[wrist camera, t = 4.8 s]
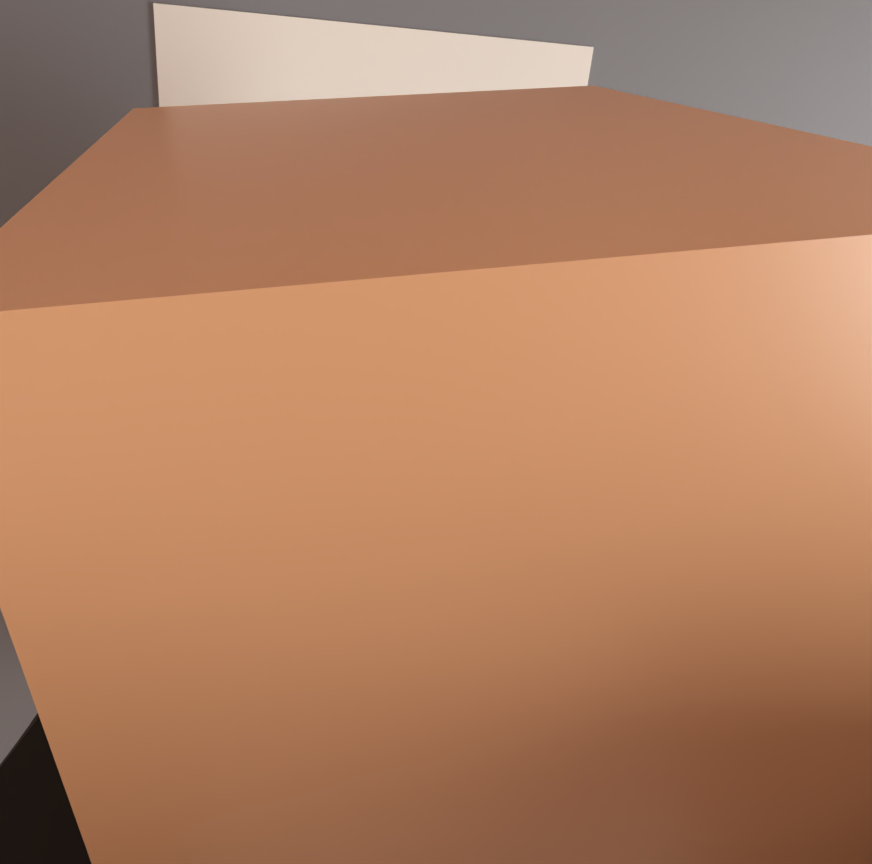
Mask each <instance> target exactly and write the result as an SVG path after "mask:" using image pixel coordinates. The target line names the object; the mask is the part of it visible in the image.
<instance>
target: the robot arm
mask: <svg viewBox="0 0 872 864" xmlns="http://www.w3.org/2000/svg"><path fill="white" fill-rule="evenodd" d="M0 864H92V863H91V860H90V858H89V855H88V852H87V849H86V846H85V844H84V841H83V838H82V835H81V832H80V830H79V827H78V824H77V821H76V818H75V816H74V813H73V810H72V807H71V804H70V802H69V799H68V796H67V793H66V790H65V788H64V785H63V782H62V779H61V776H60V774H59V771H58V768H57V765H56V762H55V760H54V757H53V754H52V751H51V748H50V746H49V743H48V740H47V737H46V734H45V732H44V729H43V726H42V723H41V720H40V718H39V715H38V713H37V715H36V716H35V717H34V719H33V720H32V722H31V723H30V725H29V726H28V727H27V729H26V730H25V732H24V733H23V734H22V736H21V737H20V739H19V740H18V741H17V743H16V744H15V745H14V747H13V748H12V749H11V751H10V752H9V753H8V755H7V756H6V757H5V759H4V760H3V761H2V762H1V764H0Z"/></svg>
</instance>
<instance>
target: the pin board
mask: <svg viewBox="0 0 872 864" xmlns="http://www.w3.org/2000/svg"><path fill="white" fill-rule="evenodd" d="M593 85H594V86H599V87H603V88H608V89H612V90H617V91H621V92H626V93H630V94H635V95H640V96H644V97H649V98H653V99H658V100H662V101H667V102H671V103H676V104H681V105H685V106H690V107H694V108H699V109H703V110H708V111H712V112H717V113H722V114H726V115H731V116H735V117H740V118H744V119H749V120H754V121H758V122H763V123H767V124H772V125H776V126H781V127H785V128H790V129H795V130H799V131H804V132H808V133H813V134H817V135H822V136H826V137H831V138H836V139H840V140H845V141H849V142H854V143H858V144H863V145H868V146H872V0H0V228H1V227H2V226H3V225H4V224H5V223H6V222H8V221H9V220H10V219H11V218H12V217H13V216H14V215H15V214H16V213H18V212H19V211H20V210H21V209H22V208H23V207H24V206H25V205H26V204H28V203H29V202H30V201H31V200H32V199H33V198H34V197H35V196H36V195H38V194H39V193H40V192H41V191H42V190H43V189H44V188H45V187H46V186H48V185H49V184H50V183H51V182H52V181H53V180H54V179H55V178H57V177H58V176H59V175H60V174H61V173H62V172H63V171H64V170H65V169H67V168H68V167H69V166H70V165H71V164H72V163H73V162H74V161H75V160H77V159H78V158H79V157H80V156H81V155H82V154H83V153H84V152H85V151H87V150H88V149H89V148H90V147H91V146H92V145H93V144H94V143H95V142H97V141H98V140H99V139H100V138H101V137H102V136H103V135H104V134H106V133H107V132H108V131H109V130H110V129H111V128H112V127H113V126H114V125H116V124H117V123H118V122H119V121H120V120H121V119H122V118H123V117H124V116H126V115H127V114H128V113H129V112H130V111H131V110H132V109H133V108H148V107H168V106H189V105H209V104H229V103H249V102H270V101H290V100H310V99H330V98H350V97H371V96H391V95H411V94H431V93H452V92H472V91H492V90H512V89H532V88H553V87H573V86H593ZM37 713H38V712H37V709H36V706H35V704H34V701H33V698H32V695H31V692H30V690H29V687H28V684H27V681H26V678H25V676H24V673H23V670H22V667H21V664H20V662H19V659H18V656H17V653H16V650H15V648H14V645H13V642H12V639H11V636H10V634H9V631H8V628H7V625H6V622H5V620H4V617H3V614H2V611H1V608H0V764H1V762H2V761H3V760H4V759H5V757H6V756H7V755H8V753H9V752H10V751H11V749H12V748H13V747H14V745H15V744H16V743H17V741H18V740H19V739H20V737H21V736H22V734H23V733H24V732H25V730H26V729H27V727H28V726H29V725H30V723H31V722H32V720H33V719H34V717H35V716H36V715H37Z"/></svg>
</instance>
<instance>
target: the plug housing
mask: <svg viewBox="0 0 872 864" xmlns="http://www.w3.org/2000/svg"><path fill="white" fill-rule="evenodd" d="M0 608H1V611H2V614H3V617H4V620H5V622H6V625H7V628H8V631H9V634H10V636H11V639H12V642H13V645H14V648H15V650H16V653H17V656H18V659H19V662H20V664H21V667H22V670H23V673H24V676H25V678H26V681H27V684H28V687H29V690H30V692H31V695H32V698H33V701H34V704H35V706H36V709H37V712H38V715H39V718H40V720H41V723H42V726H43V729H44V732H45V734H46V737H47V740H48V743H49V746H50V748H51V751H52V754H53V757H54V760H55V762H56V765H57V768H58V771H59V774H60V776H61V779H62V782H63V785H64V788H65V790H66V793H67V796H68V799H69V802H70V804H71V807H72V810H73V813H74V816H75V818H76V821H77V824H78V827H79V830H80V832H81V835H82V838H83V841H84V844H85V846H86V849H87V852H88V855H89V858H90V860H91V863H92V864H872V146H868V145H863V144H858V143H854V142H849V141H845V140H840V139H836V138H831V137H826V136H822V135H817V134H813V133H808V132H804V131H799V130H795V129H790V128H785V127H781V126H776V125H772V124H767V123H763V122H758V121H754V120H749V119H744V118H740V117H735V116H731V115H726V114H722V113H717V112H712V111H708V110H703V109H699V108H694V107H690V106H685V105H681V104H676V103H671V102H667V101H662V100H658V99H653V98H649V97H644V96H640V95H635V94H630V93H626V92H621V91H617V90H612V89H608V88H603V87H599V86H594V85H593V86H573V87H553V88H532V89H512V90H492V91H472V92H452V93H431V94H411V95H391V96H371V97H350V98H330V99H310V100H290V101H270V102H249V103H229V104H209V105H189V106H168V107H148V108H133V109H132V110H131V111H130V112H129V113H128V114H127V115H126V116H124V117H123V118H122V119H121V120H120V121H119V122H118V123H117V124H116V125H114V126H113V127H112V128H111V129H110V130H109V131H108V132H107V133H106V134H104V135H103V136H102V137H101V138H100V139H99V140H98V141H97V142H95V143H94V144H93V145H92V146H91V147H90V148H89V149H88V150H87V151H85V152H84V153H83V154H82V155H81V156H80V157H79V158H78V159H77V160H75V161H74V162H73V163H72V164H71V165H70V166H69V167H68V168H67V169H65V170H64V171H63V172H62V173H61V174H60V175H59V176H58V177H57V178H55V179H54V180H53V181H52V182H51V183H50V184H49V185H48V186H46V187H45V188H44V189H43V190H42V191H41V192H40V193H39V194H38V195H36V196H35V197H34V198H33V199H32V200H31V201H30V202H29V203H28V204H26V205H25V206H24V207H23V208H22V209H21V210H20V211H19V212H18V213H16V214H15V215H14V216H13V217H12V218H11V219H10V220H9V221H8V222H6V223H5V224H4V225H3V226H2V227H1V228H0Z"/></svg>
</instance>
